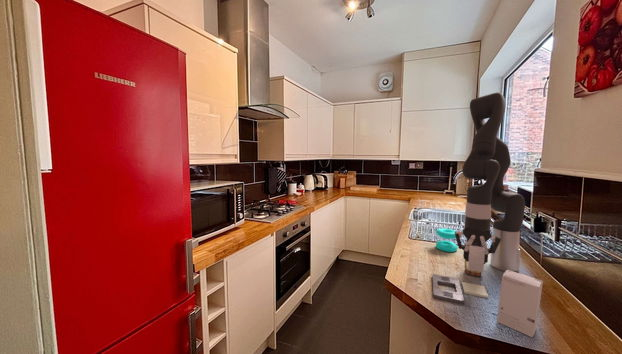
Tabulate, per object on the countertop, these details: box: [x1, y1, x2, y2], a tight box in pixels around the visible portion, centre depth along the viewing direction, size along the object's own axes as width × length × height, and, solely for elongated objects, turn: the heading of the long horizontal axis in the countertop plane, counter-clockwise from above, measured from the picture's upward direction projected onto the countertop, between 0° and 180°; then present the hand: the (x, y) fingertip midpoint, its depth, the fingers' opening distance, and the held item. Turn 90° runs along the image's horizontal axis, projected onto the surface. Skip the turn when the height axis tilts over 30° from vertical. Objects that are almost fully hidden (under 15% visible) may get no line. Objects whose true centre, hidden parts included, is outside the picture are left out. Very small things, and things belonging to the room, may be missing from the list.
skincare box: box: [496, 270, 544, 338], centre depth 68 cm, size 8×6×15 cm
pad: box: [461, 281, 489, 299], centre depth 87 cm, size 7×7×1 cm
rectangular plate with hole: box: [431, 273, 465, 305], centre depth 88 cm, size 9×16×1 cm, turn 155°
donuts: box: [435, 227, 459, 253], centre depth 125 cm, size 10×10×10 cm
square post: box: [466, 243, 485, 273], centre depth 86 cm, size 4×4×9 cm
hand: (474, 261), depth 86 cm, fingers closed on square post, 4 cm apart
